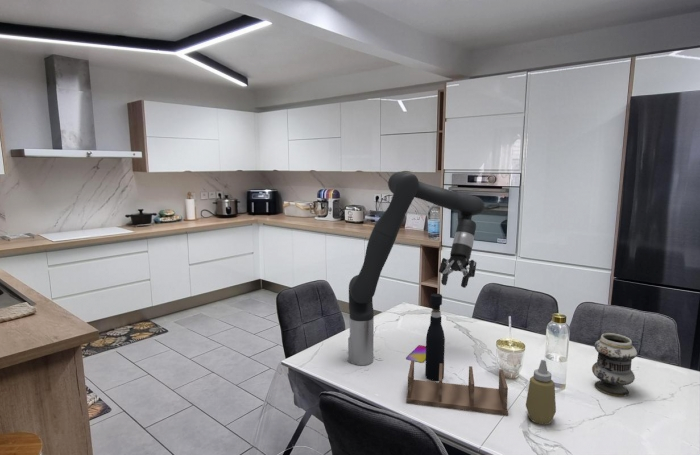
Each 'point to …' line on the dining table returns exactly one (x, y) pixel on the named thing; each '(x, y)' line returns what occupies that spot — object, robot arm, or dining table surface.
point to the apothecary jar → (614, 364)
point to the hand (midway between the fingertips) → (453, 285)
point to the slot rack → (458, 394)
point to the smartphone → (418, 354)
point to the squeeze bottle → (541, 396)
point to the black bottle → (435, 341)
